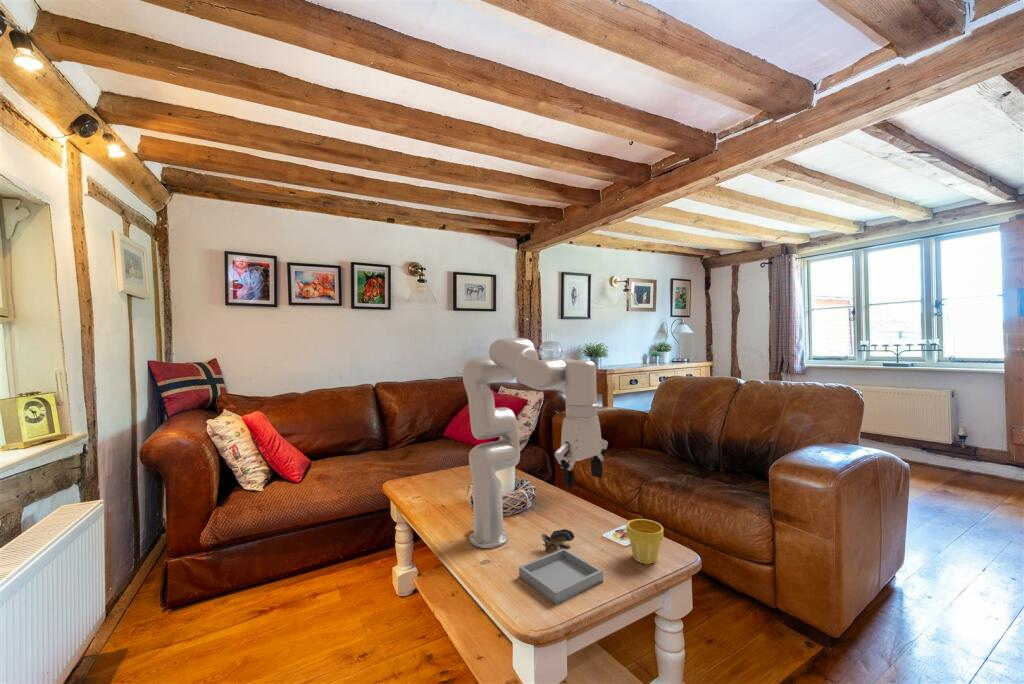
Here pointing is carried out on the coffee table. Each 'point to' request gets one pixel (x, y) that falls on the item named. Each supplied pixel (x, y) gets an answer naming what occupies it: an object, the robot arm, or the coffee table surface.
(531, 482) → the coffee table surface
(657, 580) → the coffee table surface
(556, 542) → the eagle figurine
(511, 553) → the coffee table surface
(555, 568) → the bin
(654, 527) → the plant pot
